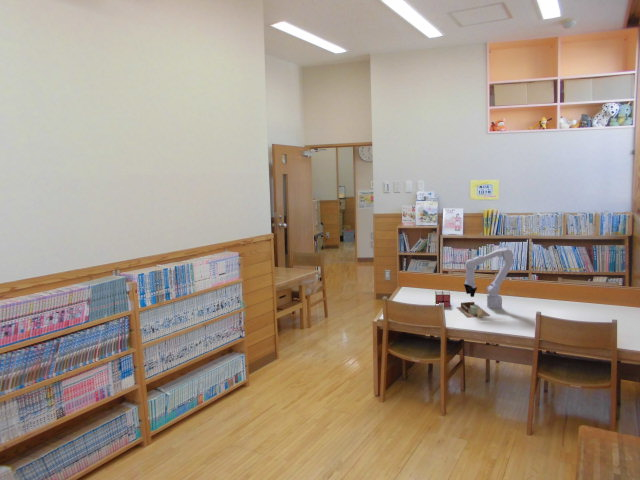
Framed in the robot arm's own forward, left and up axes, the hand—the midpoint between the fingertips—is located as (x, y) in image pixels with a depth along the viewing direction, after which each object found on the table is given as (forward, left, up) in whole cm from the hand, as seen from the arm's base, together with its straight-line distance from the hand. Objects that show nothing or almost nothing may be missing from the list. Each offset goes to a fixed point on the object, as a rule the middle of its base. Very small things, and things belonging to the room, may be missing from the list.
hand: (470, 295), depth 330 cm
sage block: (+2, +17, -9) cm, 19 cm away
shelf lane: (+2, +10, -9) cm, 14 cm away
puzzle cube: (+17, -9, -10) cm, 22 cm away
